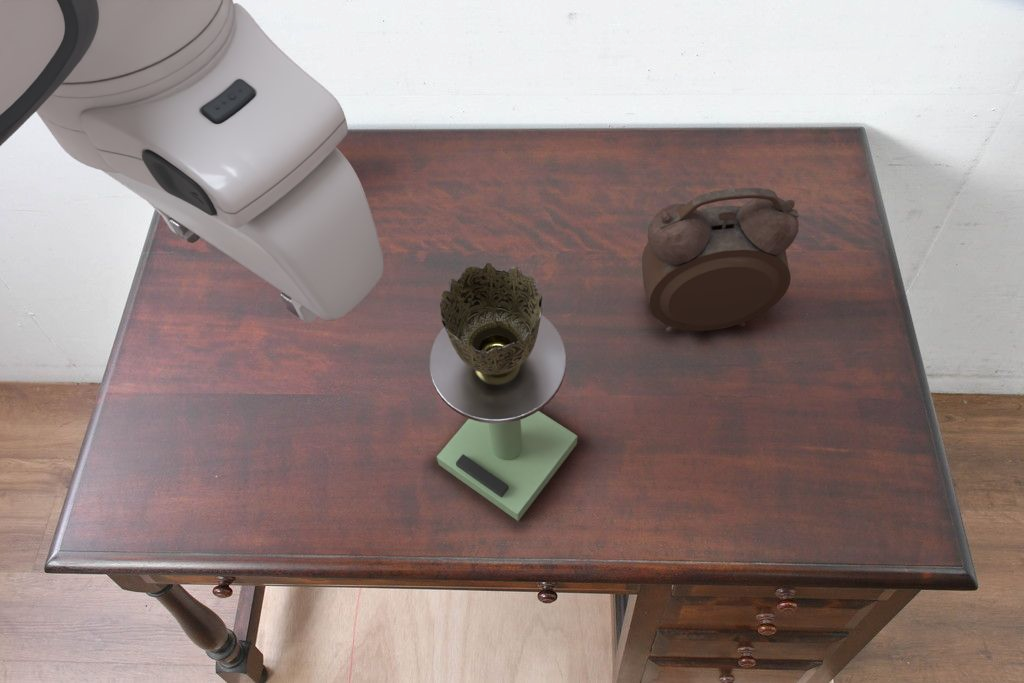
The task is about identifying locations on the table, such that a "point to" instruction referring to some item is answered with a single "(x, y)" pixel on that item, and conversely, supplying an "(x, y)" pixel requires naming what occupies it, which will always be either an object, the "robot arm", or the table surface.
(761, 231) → the alarm clock
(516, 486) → the scale
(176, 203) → the robot arm
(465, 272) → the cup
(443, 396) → the brushed steel disc
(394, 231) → the table surface
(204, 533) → the table surface
